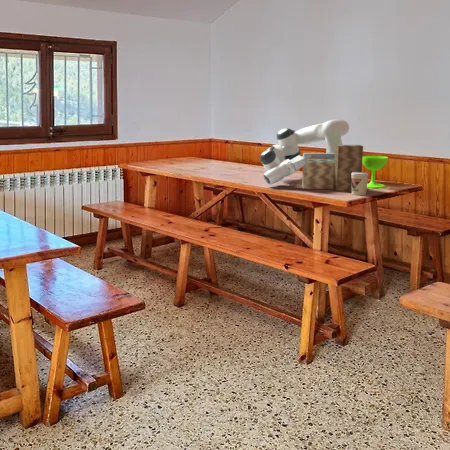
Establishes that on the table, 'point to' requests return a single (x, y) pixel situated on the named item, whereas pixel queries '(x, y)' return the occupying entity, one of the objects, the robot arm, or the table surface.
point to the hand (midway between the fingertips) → (310, 155)
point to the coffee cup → (359, 183)
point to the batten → (320, 155)
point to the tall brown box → (346, 165)
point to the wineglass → (374, 168)
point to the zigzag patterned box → (318, 174)
